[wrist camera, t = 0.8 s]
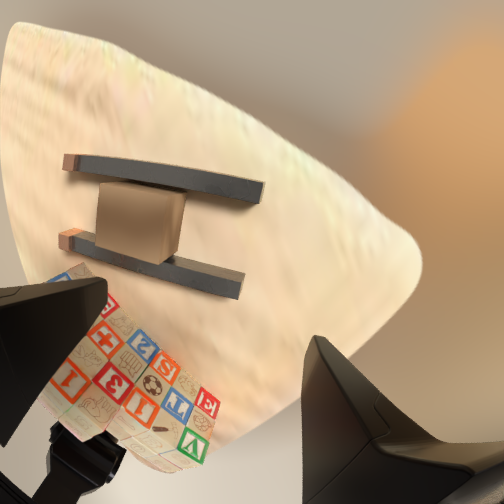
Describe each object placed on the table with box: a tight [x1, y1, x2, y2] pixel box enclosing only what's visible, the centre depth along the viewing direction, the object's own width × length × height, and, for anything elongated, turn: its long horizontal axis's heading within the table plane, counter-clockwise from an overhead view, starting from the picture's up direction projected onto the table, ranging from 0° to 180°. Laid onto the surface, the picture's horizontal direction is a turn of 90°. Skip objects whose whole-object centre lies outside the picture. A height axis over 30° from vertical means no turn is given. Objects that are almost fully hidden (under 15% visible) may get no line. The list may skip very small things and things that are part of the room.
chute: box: [59, 154, 265, 300], centre depth 21 cm, size 9×18×2 cm, turn 78°
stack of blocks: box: [37, 263, 220, 473], centre depth 21 cm, size 21×6×12 cm, turn 42°
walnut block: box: [95, 181, 187, 265], centre depth 20 cm, size 5×6×4 cm
